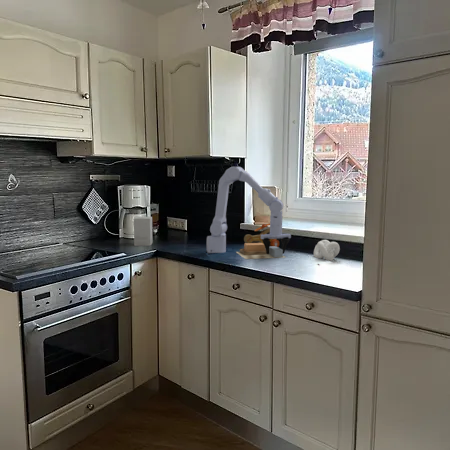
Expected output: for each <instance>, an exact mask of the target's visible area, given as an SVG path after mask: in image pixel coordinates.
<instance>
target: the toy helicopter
mask: <svg viewBox="0 0 450 450" xmlns="http://www.w3.org/2000/svg"><path fill="white" fill-rule="evenodd" d="M260 230H261V232H260V233H259V234H255V235H252V234H245V235H244V237H243V241H244V243H255V242H258V243H263V241H262V239H261V235H264V234H270V222H269V223H267V224H265V223H263V224H261V226H260V227H257V228H255V229H254V232H258V231H260ZM269 240H270V246H276V247H278V248H280V247H279V246H280V241H279V239H278V238H277V239H269ZM263 244H264V243H263ZM270 246H269V247H270Z"/></svg>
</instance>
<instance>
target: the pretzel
mask: <svg viewBox="0 0 450 450" xmlns="http://www.w3.org/2000/svg"><path fill="white" fill-rule="evenodd" d="M340 250H341V248H340V244H339V243H338V242H336V241H329V240H328V239H321V240H320V241H318V242H317V244H315V247H314V249H313V256H314V258H316V259H325V260H326V261H329V262H332V261H333V260H334V258H335V257H336V256H338V254H339V253H340Z"/></svg>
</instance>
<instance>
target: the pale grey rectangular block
mask: <svg viewBox="0 0 450 450" xmlns="http://www.w3.org/2000/svg"><path fill="white" fill-rule="evenodd" d="M269 254H270V255H271V256H273V257H283V256H284V255H283V250H282V249H281V248H280V247H276V246H270V247H269Z"/></svg>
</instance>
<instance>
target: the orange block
mask: <svg viewBox="0 0 450 450" xmlns="http://www.w3.org/2000/svg"><path fill="white" fill-rule="evenodd" d="M243 249H244V251H246V252H252V251H265V249H266V248H265V245H264V244H263V243H260V242H252V243H245V242H244V245H243Z"/></svg>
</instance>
